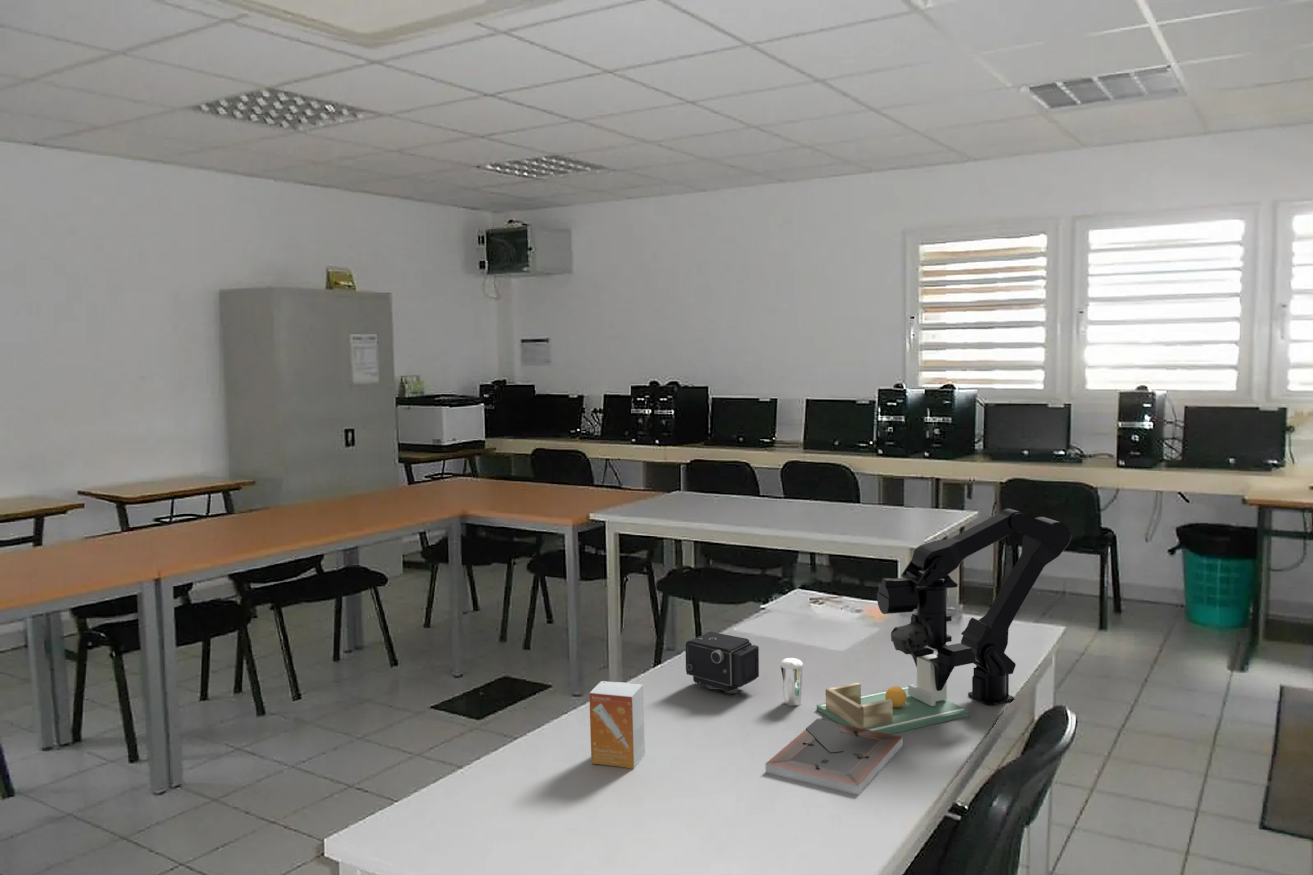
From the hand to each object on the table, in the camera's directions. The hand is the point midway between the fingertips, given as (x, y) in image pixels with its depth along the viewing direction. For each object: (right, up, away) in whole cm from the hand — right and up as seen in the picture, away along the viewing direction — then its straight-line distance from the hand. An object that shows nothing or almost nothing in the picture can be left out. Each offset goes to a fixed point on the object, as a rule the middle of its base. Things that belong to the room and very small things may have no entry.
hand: (931, 686), depth 187 cm
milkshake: (-27, -4, +3) cm, 27 cm away
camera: (-41, -4, +12) cm, 43 cm away
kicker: (0, -2, 0) cm, 2 cm away
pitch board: (-9, -4, -3) cm, 10 cm away
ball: (-8, -1, -3) cm, 9 cm away
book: (-23, -7, -23) cm, 33 cm away
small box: (-61, -8, -20) cm, 65 cm away
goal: (-16, -4, -6) cm, 17 cm away
